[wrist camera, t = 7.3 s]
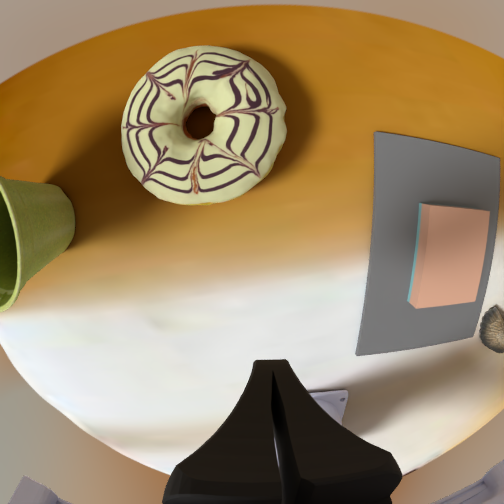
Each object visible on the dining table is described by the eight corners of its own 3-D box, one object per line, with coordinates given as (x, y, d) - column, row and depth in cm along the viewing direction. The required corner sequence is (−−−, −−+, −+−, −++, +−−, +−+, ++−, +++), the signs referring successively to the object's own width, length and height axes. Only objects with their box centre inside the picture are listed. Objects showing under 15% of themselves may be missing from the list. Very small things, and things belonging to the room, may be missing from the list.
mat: (471, 335, 23) (472, 336, 23) (355, 353, 23) (356, 356, 23) (497, 158, 18) (500, 158, 18) (373, 132, 19) (375, 131, 18)
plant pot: (24, 271, 21) (-36, 305, 13) (13, 172, 19) (-55, 180, 11) (98, 274, 21) (36, 320, 13) (89, 156, 19) (12, 153, 11)
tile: (407, 300, 21) (465, 294, 21) (416, 308, 20) (475, 301, 20) (419, 202, 19) (478, 208, 19) (430, 205, 18) (489, 211, 18)
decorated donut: (278, 57, 17) (283, 34, 14) (283, 199, 20) (291, 204, 16) (138, 70, 18) (118, 53, 14) (139, 206, 20) (118, 213, 16)
